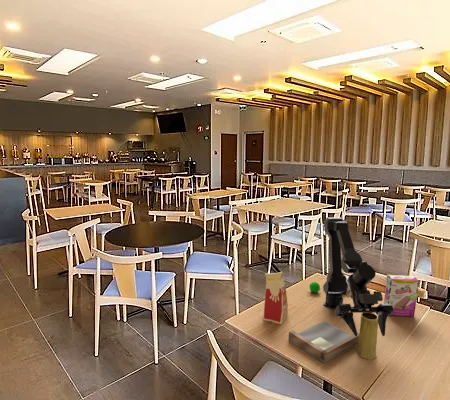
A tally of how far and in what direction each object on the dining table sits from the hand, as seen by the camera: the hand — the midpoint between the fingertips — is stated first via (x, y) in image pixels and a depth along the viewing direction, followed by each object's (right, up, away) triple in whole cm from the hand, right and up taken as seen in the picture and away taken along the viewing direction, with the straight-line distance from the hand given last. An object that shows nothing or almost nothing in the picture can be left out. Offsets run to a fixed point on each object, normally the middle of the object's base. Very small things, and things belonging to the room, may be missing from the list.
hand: (370, 335), depth 111 cm
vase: (0, -8, +3) cm, 8 cm away
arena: (-12, -6, +10) cm, 17 cm away
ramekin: (+8, +2, +54) cm, 55 cm away
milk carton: (-28, -3, +27) cm, 39 cm away
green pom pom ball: (-5, +1, +50) cm, 50 cm away
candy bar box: (+25, -3, +30) cm, 39 cm away
